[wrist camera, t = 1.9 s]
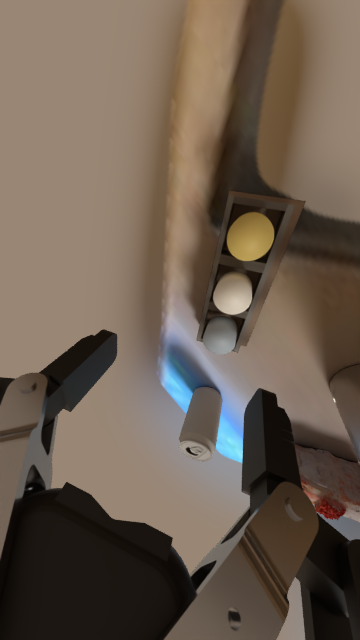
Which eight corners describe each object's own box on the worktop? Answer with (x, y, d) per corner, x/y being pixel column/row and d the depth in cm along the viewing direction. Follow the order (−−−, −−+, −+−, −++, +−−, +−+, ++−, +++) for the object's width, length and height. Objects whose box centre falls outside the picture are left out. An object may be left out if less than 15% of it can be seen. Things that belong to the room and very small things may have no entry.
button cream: (246, 266, 23) (245, 274, 20) (256, 298, 24) (256, 309, 22) (212, 278, 25) (207, 286, 22) (223, 306, 26) (220, 318, 24)
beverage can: (188, 390, 44) (169, 444, 34) (208, 380, 40) (193, 436, 30) (208, 408, 45) (195, 465, 35) (229, 399, 41) (222, 460, 31)
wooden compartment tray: (231, 191, 23) (226, 188, 20) (301, 201, 22) (312, 200, 18) (200, 326, 34) (193, 342, 30) (246, 339, 33) (245, 357, 29)
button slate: (231, 312, 26) (229, 324, 24) (241, 337, 28) (239, 351, 25) (203, 319, 28) (198, 331, 25) (213, 342, 30) (209, 356, 27)
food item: (277, 454, 45) (283, 508, 37) (288, 435, 41) (296, 492, 33) (346, 476, 42) (368, 541, 34) (365, 458, 38) (395, 527, 30)
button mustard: (265, 204, 19) (267, 204, 17) (275, 245, 21) (279, 251, 18) (224, 223, 21) (220, 225, 19) (236, 259, 23) (234, 267, 20)
